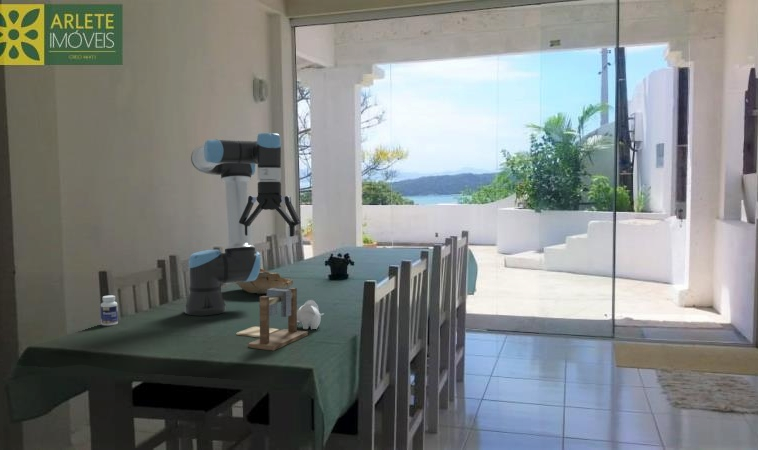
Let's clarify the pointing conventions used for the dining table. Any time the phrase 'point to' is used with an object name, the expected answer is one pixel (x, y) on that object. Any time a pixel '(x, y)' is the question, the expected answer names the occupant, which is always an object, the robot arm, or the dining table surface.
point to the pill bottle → (109, 311)
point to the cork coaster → (255, 331)
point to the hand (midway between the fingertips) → (269, 246)
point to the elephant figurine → (309, 315)
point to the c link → (285, 301)
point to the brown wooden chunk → (265, 283)
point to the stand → (283, 335)
